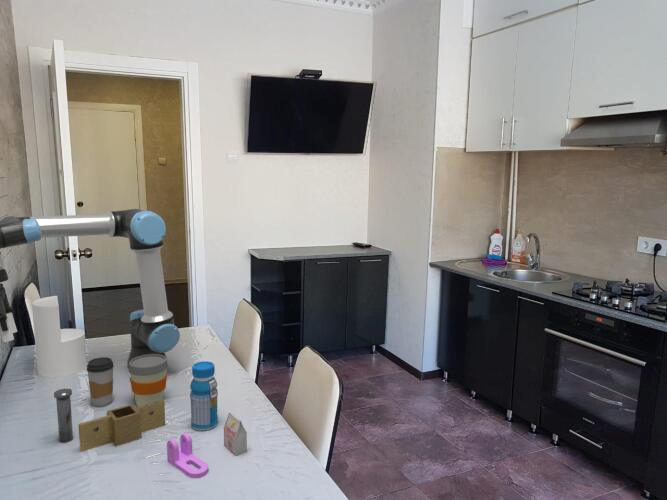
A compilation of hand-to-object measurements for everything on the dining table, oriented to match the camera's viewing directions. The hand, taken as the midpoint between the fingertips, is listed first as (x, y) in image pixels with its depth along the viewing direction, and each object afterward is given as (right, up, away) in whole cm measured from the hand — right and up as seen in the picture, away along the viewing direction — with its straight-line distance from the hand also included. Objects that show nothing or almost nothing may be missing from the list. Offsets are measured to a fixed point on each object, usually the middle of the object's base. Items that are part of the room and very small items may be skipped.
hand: (10, 336), depth 154 cm
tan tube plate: (+37, -29, -5) cm, 48 cm away
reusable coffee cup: (+37, -26, +18) cm, 48 cm away
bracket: (+61, -32, -18) cm, 72 cm away
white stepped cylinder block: (-8, -21, +44) cm, 49 cm away
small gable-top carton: (+72, -31, -10) cm, 79 cm away
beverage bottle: (+59, -29, +3) cm, 66 cm away
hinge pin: (+21, -29, -7) cm, 37 cm away
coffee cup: (+21, -26, +16) cm, 37 cm away
